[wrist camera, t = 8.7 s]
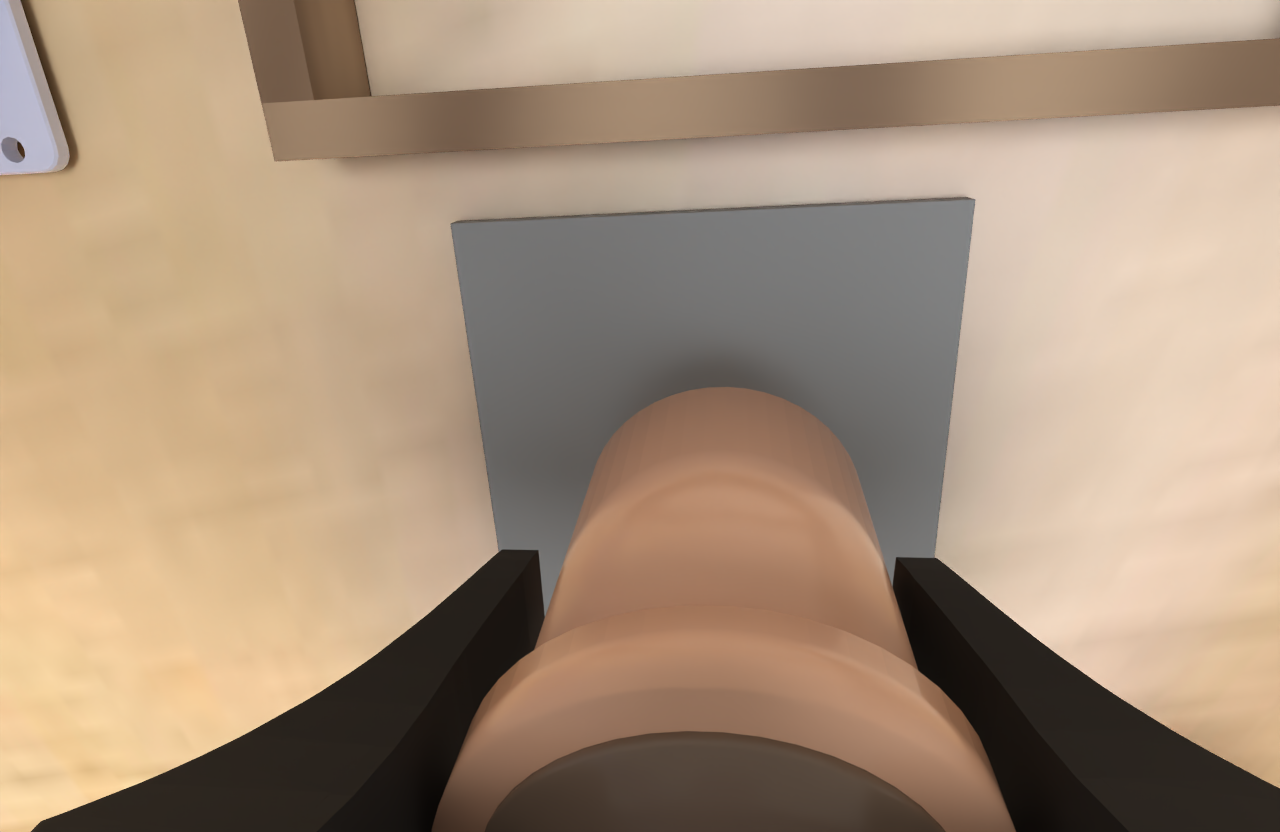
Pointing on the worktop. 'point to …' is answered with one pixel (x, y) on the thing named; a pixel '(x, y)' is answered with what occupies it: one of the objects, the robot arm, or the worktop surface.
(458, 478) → the worktop surface
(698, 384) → the potting mat
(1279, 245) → the worktop surface
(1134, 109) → the cold frame
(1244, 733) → the worktop surface
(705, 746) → the terracotta pot
